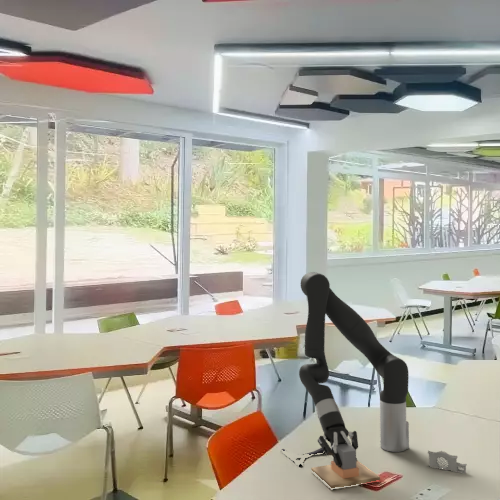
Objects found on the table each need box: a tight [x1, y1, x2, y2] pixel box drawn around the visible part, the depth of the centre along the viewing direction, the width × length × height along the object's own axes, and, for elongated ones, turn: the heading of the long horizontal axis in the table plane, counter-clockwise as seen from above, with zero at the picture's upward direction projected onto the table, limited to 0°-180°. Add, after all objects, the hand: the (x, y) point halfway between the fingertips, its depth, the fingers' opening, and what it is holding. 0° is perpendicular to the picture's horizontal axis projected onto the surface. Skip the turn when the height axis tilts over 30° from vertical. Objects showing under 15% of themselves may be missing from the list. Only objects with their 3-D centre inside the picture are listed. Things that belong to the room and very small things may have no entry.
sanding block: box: [330, 443, 359, 479], centre depth 177 cm, size 6×8×8 cm
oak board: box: [310, 459, 381, 488], centre depth 177 cm, size 17×14×2 cm
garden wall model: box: [427, 450, 468, 475], centre depth 181 cm, size 12×2×6 cm, turn 59°
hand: (347, 464), depth 175 cm, fingers closed on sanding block, 4 cm apart
